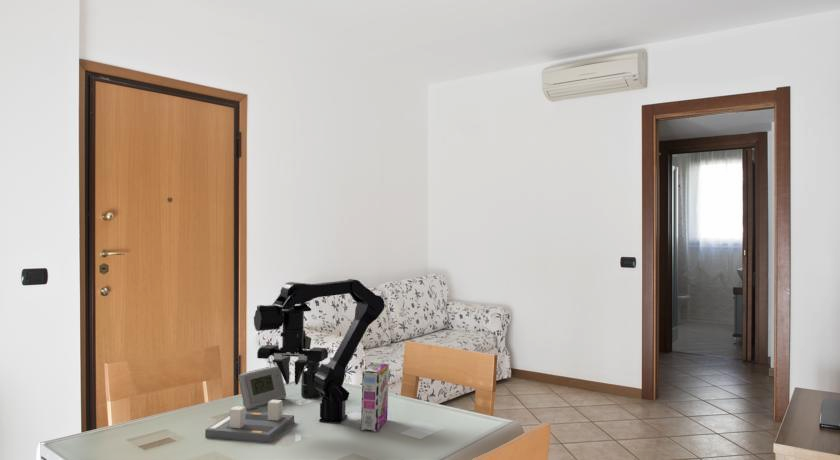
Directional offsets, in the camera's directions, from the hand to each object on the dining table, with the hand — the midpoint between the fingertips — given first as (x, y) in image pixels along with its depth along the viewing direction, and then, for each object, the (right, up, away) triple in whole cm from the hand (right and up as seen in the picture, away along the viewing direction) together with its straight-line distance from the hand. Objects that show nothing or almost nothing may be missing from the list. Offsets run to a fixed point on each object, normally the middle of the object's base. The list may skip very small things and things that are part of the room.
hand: (292, 384), depth 157 cm
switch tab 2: (-5, -10, +1) cm, 11 cm away
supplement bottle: (0, -13, +31) cm, 33 cm away
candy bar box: (+23, -13, +3) cm, 26 cm away
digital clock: (-14, -12, +22) cm, 29 cm away
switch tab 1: (-13, -10, -6) cm, 17 cm away
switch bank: (-11, -12, -2) cm, 16 cm away
